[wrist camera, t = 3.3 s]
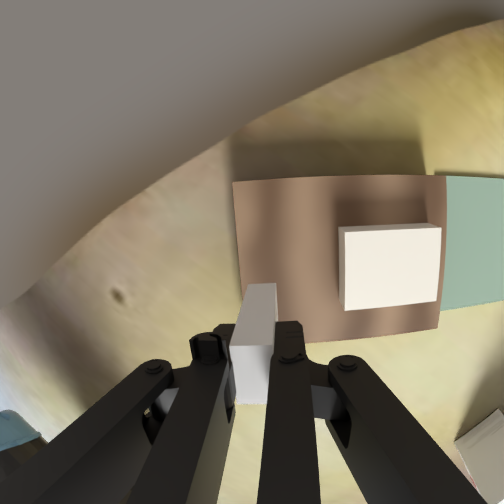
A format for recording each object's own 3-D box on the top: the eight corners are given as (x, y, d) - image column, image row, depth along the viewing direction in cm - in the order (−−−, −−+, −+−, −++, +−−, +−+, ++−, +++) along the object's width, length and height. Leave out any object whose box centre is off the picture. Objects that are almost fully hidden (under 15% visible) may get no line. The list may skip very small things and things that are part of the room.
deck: (250, 326, 31) (247, 345, 27) (238, 181, 28) (232, 181, 24) (421, 312, 29) (437, 328, 25) (426, 175, 26) (446, 175, 22)
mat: (429, 311, 29) (431, 312, 29) (435, 175, 26) (436, 175, 26) (507, 298, 28) (509, 299, 28) (515, 179, 25) (518, 180, 25)
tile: (338, 298, 25) (344, 310, 23) (338, 227, 24) (344, 232, 22) (424, 290, 25) (436, 300, 22) (427, 223, 23) (441, 227, 21)
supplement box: (452, 441, 34) (486, 510, 19) (498, 406, 32) (542, 467, 17) (462, 461, 35) (491, 521, 20) (504, 430, 33) (540, 485, 18)
